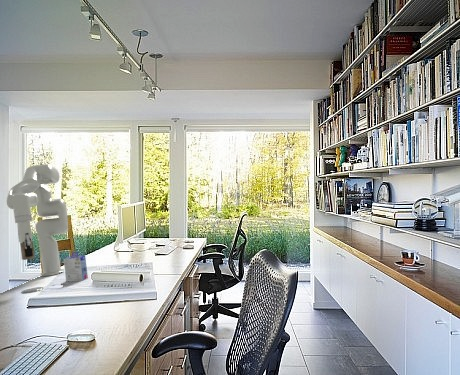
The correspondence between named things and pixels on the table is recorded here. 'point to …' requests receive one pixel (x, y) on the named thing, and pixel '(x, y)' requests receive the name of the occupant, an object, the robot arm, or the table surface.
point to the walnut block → (24, 251)
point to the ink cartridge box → (75, 268)
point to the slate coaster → (32, 290)
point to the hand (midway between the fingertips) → (28, 255)
